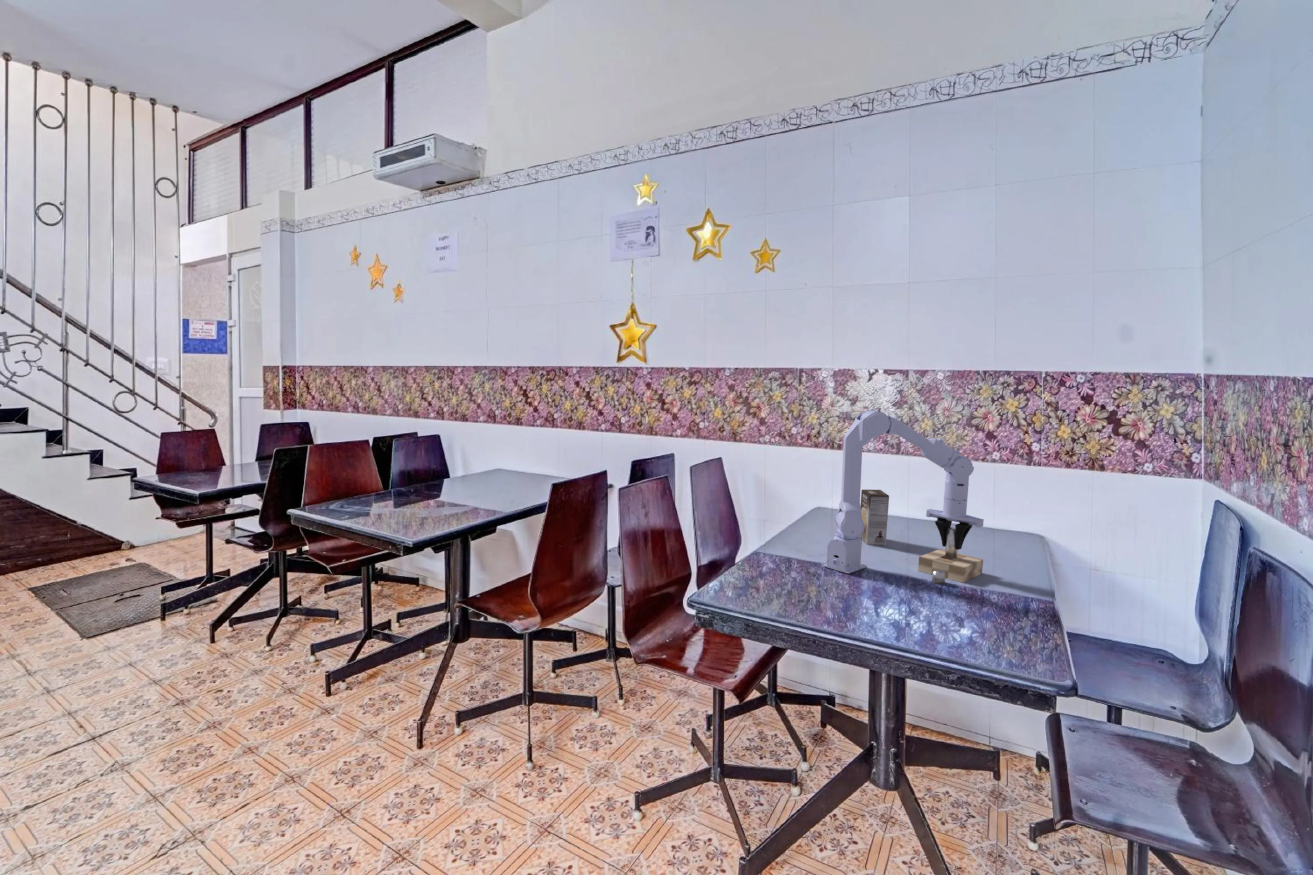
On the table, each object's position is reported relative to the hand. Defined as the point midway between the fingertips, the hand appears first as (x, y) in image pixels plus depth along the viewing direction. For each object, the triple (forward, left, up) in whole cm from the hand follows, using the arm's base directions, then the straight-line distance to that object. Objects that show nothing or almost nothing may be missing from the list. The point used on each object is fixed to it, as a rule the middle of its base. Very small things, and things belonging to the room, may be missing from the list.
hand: (951, 547), depth 171 cm
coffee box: (+11, +30, -7) cm, 33 cm away
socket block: (0, 0, -7) cm, 7 cm away
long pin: (0, 0, -3) cm, 3 cm away
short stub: (-11, -2, -7) cm, 13 cm away
